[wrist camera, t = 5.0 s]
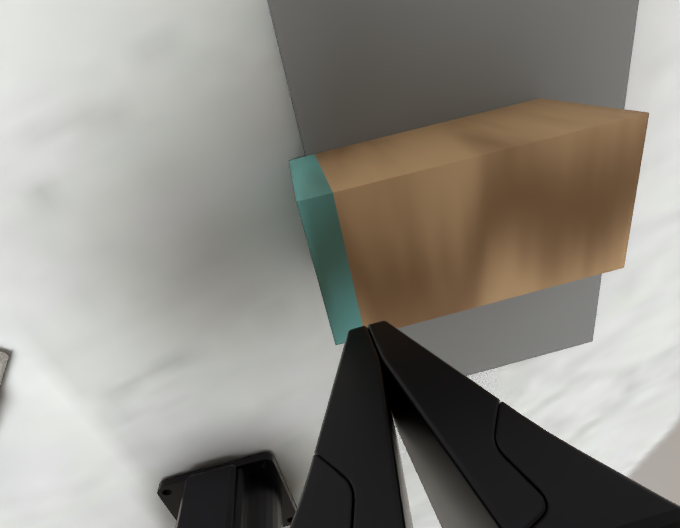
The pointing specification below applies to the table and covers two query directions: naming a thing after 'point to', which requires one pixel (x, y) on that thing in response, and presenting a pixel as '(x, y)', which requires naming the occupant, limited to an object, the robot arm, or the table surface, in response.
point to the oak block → (469, 210)
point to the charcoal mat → (458, 115)
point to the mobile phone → (3, 363)
